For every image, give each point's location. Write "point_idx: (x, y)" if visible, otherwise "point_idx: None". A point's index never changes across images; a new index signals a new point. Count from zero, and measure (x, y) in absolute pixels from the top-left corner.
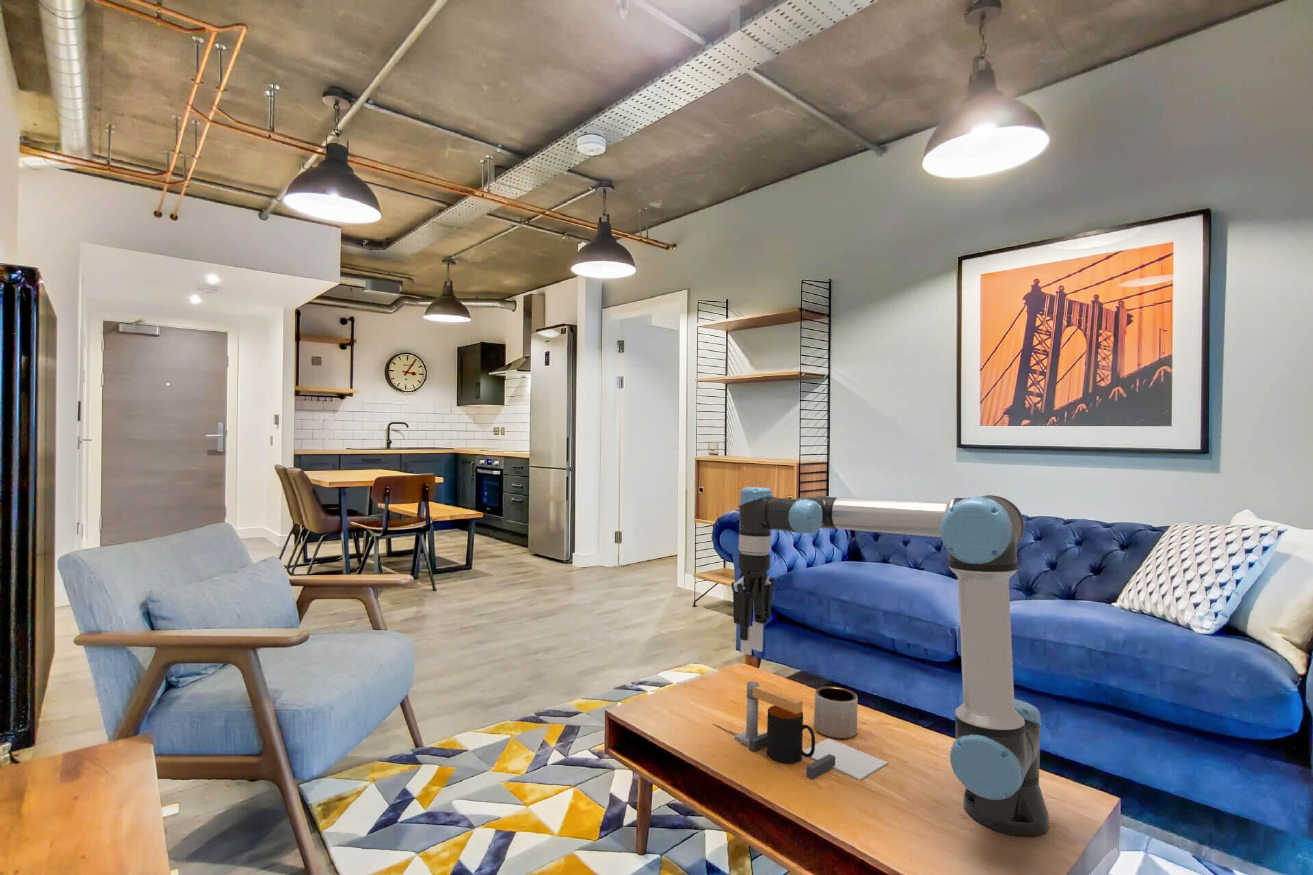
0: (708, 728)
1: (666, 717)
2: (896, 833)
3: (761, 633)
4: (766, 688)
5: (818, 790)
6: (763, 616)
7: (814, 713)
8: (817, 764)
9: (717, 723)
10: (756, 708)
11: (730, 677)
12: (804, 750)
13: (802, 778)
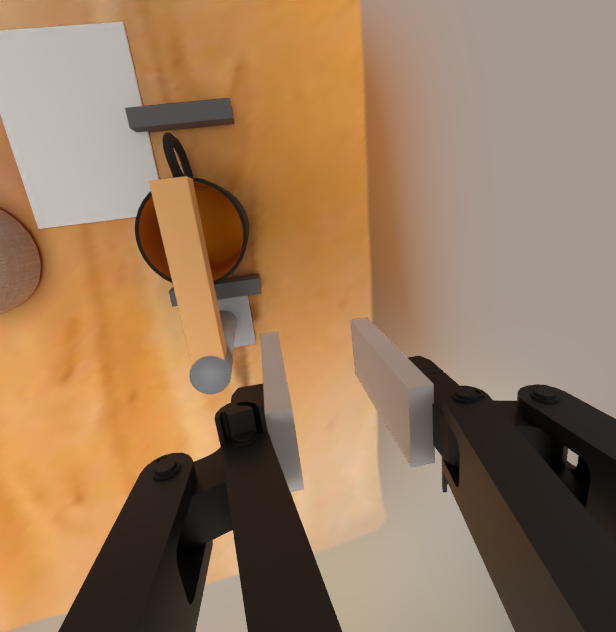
0: None
1: (315, 475)
2: None
3: (280, 374)
4: (190, 330)
5: (254, 59)
6: (258, 461)
7: (11, 301)
8: (201, 105)
9: None
10: None
11: (48, 591)
12: None
13: (247, 122)
